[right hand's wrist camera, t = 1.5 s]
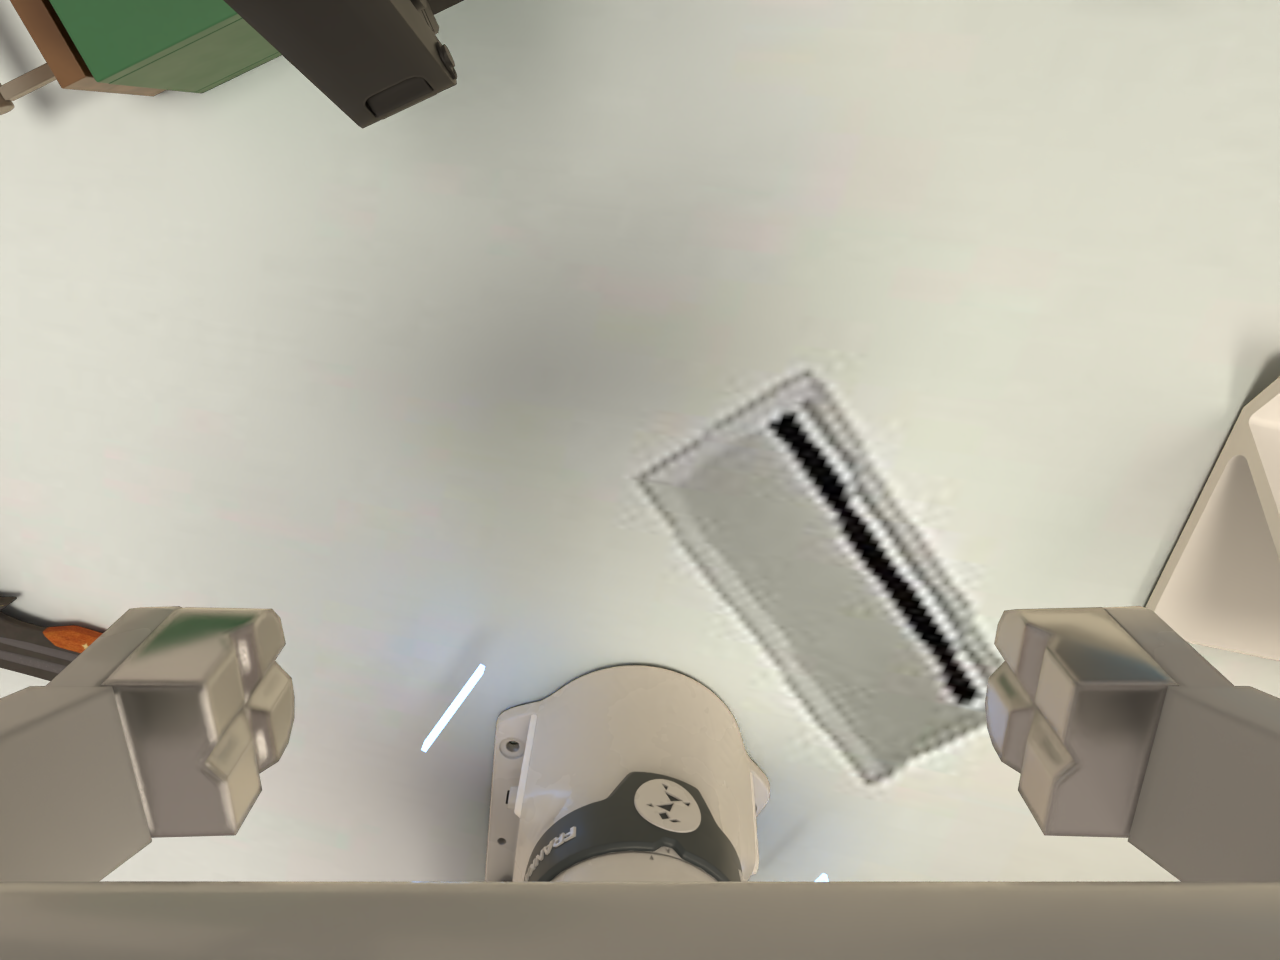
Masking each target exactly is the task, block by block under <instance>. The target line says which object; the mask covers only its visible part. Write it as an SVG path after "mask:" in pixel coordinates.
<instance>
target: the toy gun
mask: <svg viewBox="0 0 1280 960" xmlns="http://www.w3.org/2000/svg"><path fill="white" fill-rule="evenodd" d="M16 599H17V597H0V610H1V609H3V608H5V607H6V606H7V605H9V604H10V603H12V602H13V601H14V600H16ZM102 634H103V633H100V632H97V631H94V630H90V629H87V628H83V627H80V626H75V625H72V626H57V627H48V628H46V627H41V626H37V625H34V624H30V623H26V622H23V621H20V620H17V619H15V618H13V617H11V616H8V615H6V614H4V613H3V612H1V611H0V668H4V669H8V670H12V671H16V672H19V673H23V674H27V675H31V676H34V677H38V678H41V679H45V680H48V681H52V680H53V679H54V678H55V677H56V676H57V675H58V674H59V673H60V672H61V671H62V670H64V669H65V668H66V667H67V666H68V665H69V664H70V663H71V662H72V661H73V660H74V659H76V658H77V657H78V656H79V655H80V654H81V653H82V652H83V651H84V650H85V649H86V648H88V647H89V646H90V645H91V644H92V643H93V642H94V641H95V640H96V639H97V638H98V637H100V636H101V635H102Z"/></svg>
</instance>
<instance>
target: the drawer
mask: <svg viewBox="0 0 1280 960" xmlns="http://www.w3.org/2000/svg"><path fill="white" fill-rule="evenodd" d="M10 1H11V3H12V5H13V6H14V8H15V10H16V11H17V13H18V15H19V16H20V18H21V20H22V22H23V23H24V25H25V27H26V28H27V30H28V32H29V33H30V35H31V37H32V38H33V40H34V42H35V44H36V45H37V47H38V49H39V50H40V52H41V54H42V55H43V57H44V59H45V60H46V62H47V63H45V64H43V65H41V66H39V67H38V68H36V69H34V70H32V71H30V72H28V73H26V74H24V75H22V76H20V77H18V78H16V79H14V80H12V81H10V82H8V83H6V84H4V85H1V83H0V115H2V114H5V113H7V112H9V111H11V110H12V109H13V108H14V104H13V103H12V101H14V100H16V99H18V98H20V97H22V96H24V95H26V94H28V93H30V92H32V91H34V90H36V89H38V88H40V87H42V86H44V85H46V84H48V83H50V82H52V81H54V80H56V79H57V81H58V82H59V84H60V86H61V88H63V89H75V90H86V91H98V92H109V93H121V94H132V95H144V96H155V95H157V94H159V93H161V92H163V91H165V90H164V89H154V88H144V87H135V86H125V85H115V84H108V83H98V82H96V81H95V79H94V77H93V75H92V74H91V72H90V70H89V68H88V67H87V65H86V63H85V61H84V60H83V58H82V56H81V55H80V53H79V51H78V49H77V48H76V46H75V44H74V42H73V41H72V39H71V37H70V35H69V34H68V32H67V30H66V29H65V27H64V25H63V23H62V22H61V20H60V18H59V16H58V15H57V13H56V11H55V9H54V8H53V6H52V4H51V3H50V1H49V0H10Z"/></svg>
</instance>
